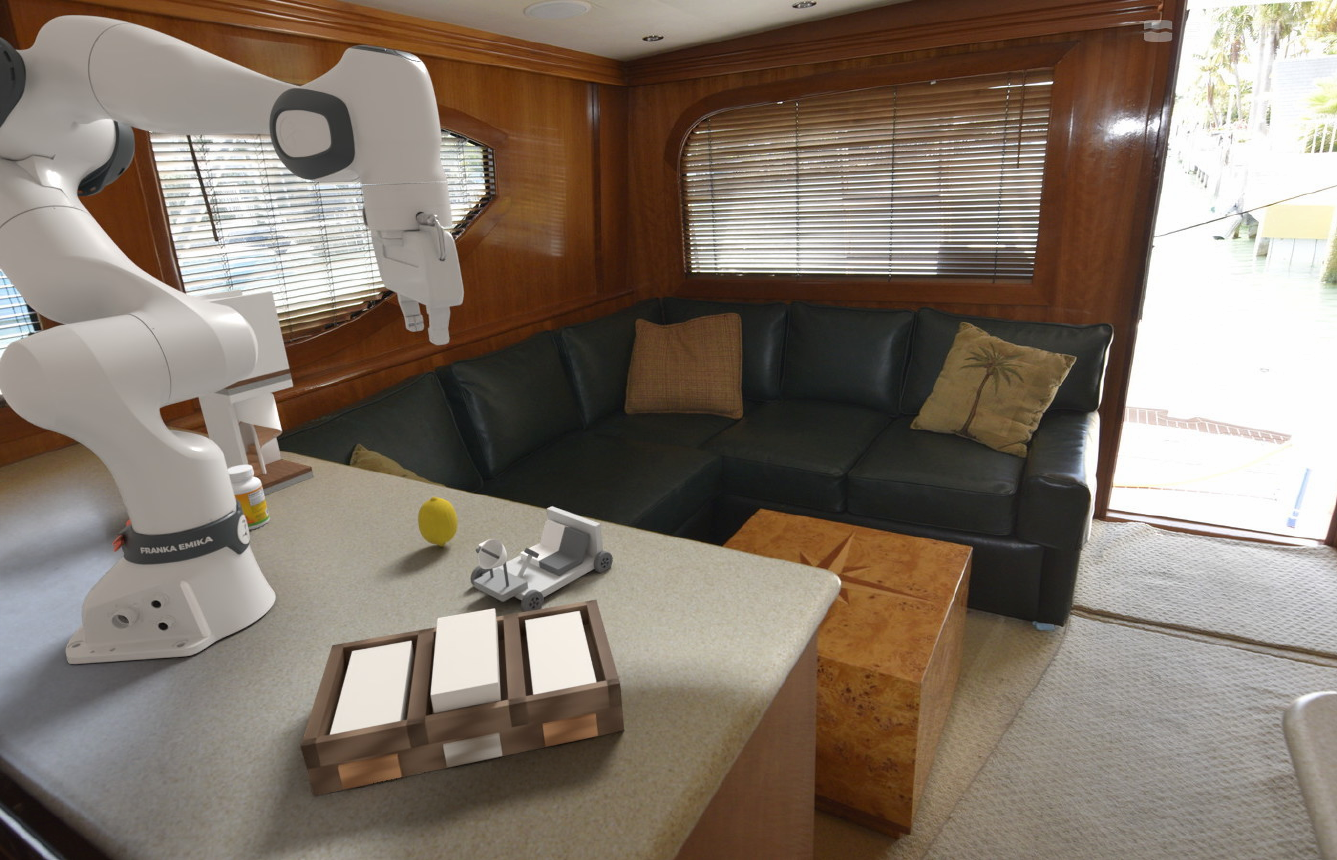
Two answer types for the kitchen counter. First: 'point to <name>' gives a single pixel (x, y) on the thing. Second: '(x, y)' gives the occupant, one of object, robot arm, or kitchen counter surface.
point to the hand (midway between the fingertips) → (427, 336)
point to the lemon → (437, 521)
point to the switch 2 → (466, 661)
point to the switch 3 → (558, 653)
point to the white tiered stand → (254, 399)
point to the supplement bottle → (249, 495)
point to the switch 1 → (375, 687)
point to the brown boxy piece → (461, 710)
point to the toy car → (542, 561)
